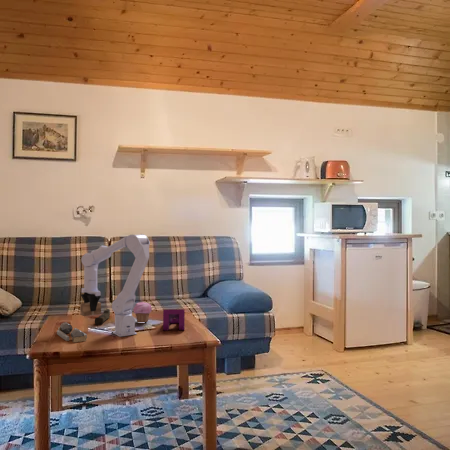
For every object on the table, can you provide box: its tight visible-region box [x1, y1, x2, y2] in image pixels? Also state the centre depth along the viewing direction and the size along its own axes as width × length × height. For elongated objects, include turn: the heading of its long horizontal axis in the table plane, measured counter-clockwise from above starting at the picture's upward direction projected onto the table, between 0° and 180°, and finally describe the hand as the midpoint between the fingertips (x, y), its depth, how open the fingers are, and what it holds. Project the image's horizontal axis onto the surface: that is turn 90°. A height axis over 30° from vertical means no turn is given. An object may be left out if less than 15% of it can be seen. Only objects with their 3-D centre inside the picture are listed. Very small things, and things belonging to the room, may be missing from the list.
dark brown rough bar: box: [94, 308, 111, 326], centre depth 225 cm, size 19×4×5 cm, turn 177°
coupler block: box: [79, 301, 102, 317], centre depth 204 cm, size 4×8×5 cm, turn 133°
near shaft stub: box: [70, 328, 87, 344], centre depth 187 cm, size 6×5×4 cm
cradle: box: [56, 327, 88, 342], centre depth 194 cm, size 14×8×2 cm, turn 35°
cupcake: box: [132, 301, 153, 323], centre depth 220 cm, size 9×9×10 cm
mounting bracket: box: [162, 308, 186, 332], centre depth 211 cm, size 10×8×18 cm
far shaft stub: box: [57, 321, 74, 335], centre depth 201 cm, size 6×5×4 cm
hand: (90, 310), depth 204 cm, fingers closed on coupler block, 4 cm apart
